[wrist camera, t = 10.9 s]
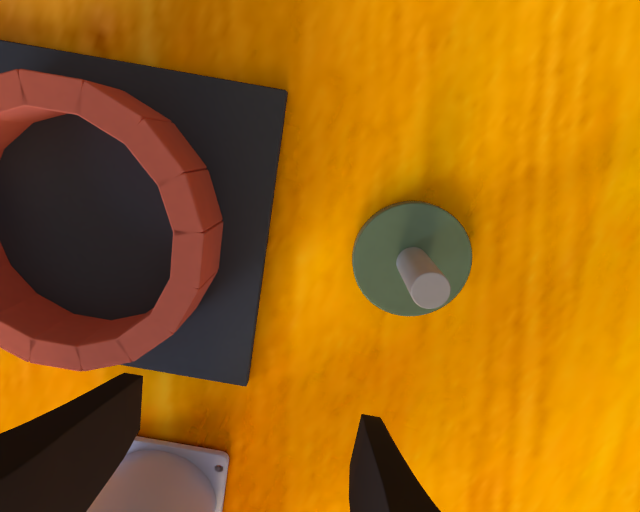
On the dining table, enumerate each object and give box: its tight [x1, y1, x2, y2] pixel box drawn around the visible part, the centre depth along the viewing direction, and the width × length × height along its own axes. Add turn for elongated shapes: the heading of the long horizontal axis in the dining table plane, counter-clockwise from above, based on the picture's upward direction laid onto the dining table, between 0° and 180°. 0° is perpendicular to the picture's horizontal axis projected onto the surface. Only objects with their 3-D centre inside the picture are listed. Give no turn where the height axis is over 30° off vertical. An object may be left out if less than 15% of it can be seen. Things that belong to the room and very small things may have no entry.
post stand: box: [352, 201, 472, 316], centre depth 18 cm, size 6×6×5 cm
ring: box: [0, 69, 223, 371], centre depth 19 cm, size 13×13×3 cm
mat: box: [0, 40, 288, 386], centre depth 21 cm, size 16×17×1 cm
